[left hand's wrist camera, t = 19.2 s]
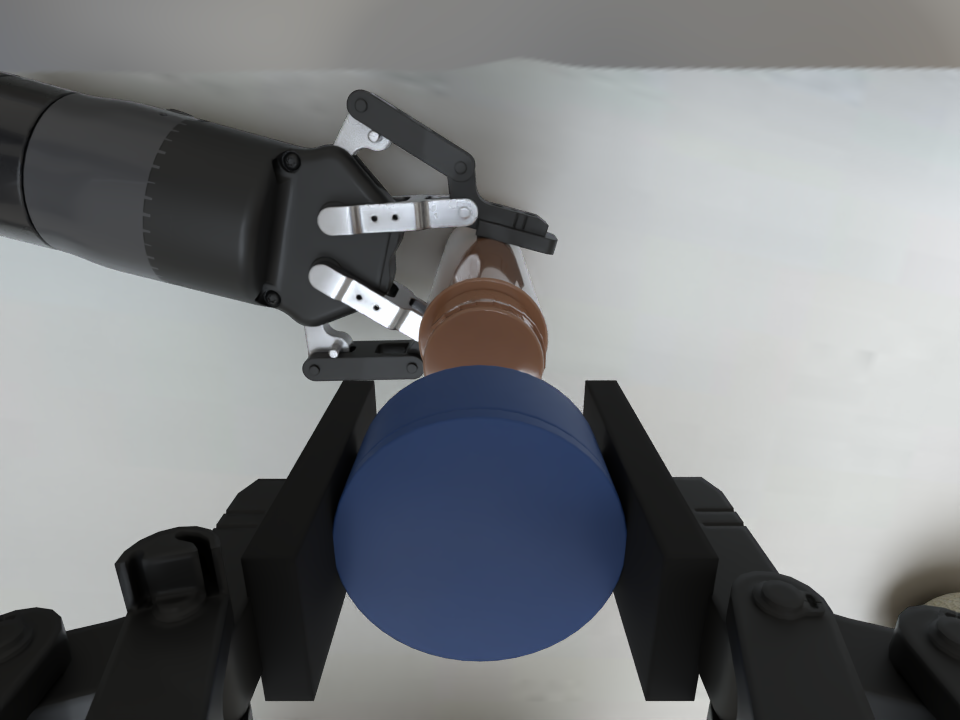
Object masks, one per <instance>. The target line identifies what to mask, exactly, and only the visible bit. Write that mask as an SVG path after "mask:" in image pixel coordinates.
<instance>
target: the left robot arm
mask: <svg viewBox="0 0 960 720" xmlns="http://www.w3.org/2000/svg"><path fill="white" fill-rule="evenodd" d="M376 415H377V414H376V400H375V385H374V380H343V382H342V384H341V386H340V387H339V389H338V391H337V393H336V394H335V396H334V398H333V399H332V401H331V403H330V405H329V406H328V408H327V410H326V412H325V413H324V415H323V417H322V418H321V420H320V422H319V424H318V425H317V427H316V429H315V431H314V432H313V434H312V436H311V437H310V439H309V441H308V443H307V444H306V446H305V448H304V450H303V451H302V453H301V455H300V457H299V458H298V460H297V462H296V463H295V465H294V467H293V469H292V470H291V472H290V474H289V476H288V477H287V479H258V480H256V481H255V482H253V483H252V484H251V485H249V486H248V487H246V488H245V489H244V490H242V491H241V492H239V493H238V494H237V496H236V497H235V499H234V500H233V501H232V503H231V504H230V506H229V507H228V509H227V510H226V514H223V516H222V517H221V519H220V520H219V522H218V523H217V526H216V528H214V529H213V530H210V529H206V528H202V527H198V526H188V527H176V528H172V529H168V530H164V531H160V532H157V533H155V534H153V535H150V536H148V537H146V538H144V539H142V540H140V541H138V542H137V543H135V544H134V545H133V546H131V547H130V548H128V549H127V550H126V551H124V552H123V554H122V555H121V556H120V558H119V559H118V560H117V562H116V563H115V568H116V572H117V575H118V579H119V583H120V586H121V590H122V594H123V598H124V601H125V605H126V609H127V615H126V617H122V618H119V619H116V620H112V621H108V622H104V623H100V624H95V625H91V626H87V627H82V628H78V629H74V630H69V631H65V628H64V625H63V621H62V618H61V617H60V616H59V615H58V614H57V613H56V612H54V611H53V610H51V609H45V608H38V607H35V608H28V609H21V610H15V611H12V612H9V613H6V614H3V615H0V720H253V716H252V710H251V704H250V701H251V698H252V696H253V693H254V691H255V689H256V686H257V684H258V681H259V679H260V676H261V678H262V684H263V690H264V695H265V701H314V699H315V695H316V692H317V689H318V685H319V682H320V679H321V675H322V672H323V668H324V665H325V662H326V658H327V655H328V652H329V648H330V645H331V642H332V638H333V635H334V632H335V628H336V625H337V622H338V618H339V615H340V611H341V608H342V605H343V601H344V598H345V595H346V589H345V588H344V586H343V584H342V582H341V579H340V577H339V574H338V571H337V568H336V561H335V553H334V543H333V522H334V516H335V512H336V509H337V506H338V502H339V500H340V497H341V494H342V492H343V489H344V487H345V484H346V482H347V479H348V477H349V474H350V472H351V469H352V467H353V464H354V462H355V459H356V457H357V454H358V452H359V449H360V447H361V444H362V441H363V439H364V437H365V434H366V432H367V430H368V428H369V426H370V424H371V423H372V421H373V419H374V418H375V416H376ZM583 416H584V417H585V419H586V420H587V422H588V423H589V425H590V427H591V429H592V431H593V433H594V436H595V438H596V440H597V443H598V445H599V448H600V451H601V453H602V456H603V458H604V461H605V463H606V466H607V468H608V471H609V473H610V476H611V478H612V481H613V484H614V486H615V489H616V491H617V494H618V496H619V499H620V502H621V505H622V508H623V511H624V515H625V520H626V527H627V538H626V549H625V558H624V566H623V569H622V572H621V575H620V578H619V580H618V582H617V584H616V586H615V588H614V590H613V592H614V596H615V599H616V603H617V606H618V609H619V613H620V616H621V619H622V623H623V626H624V629H625V633H626V636H627V639H628V643H629V646H630V650H631V653H632V656H633V660H634V663H635V666H636V670H637V673H638V676H639V680H640V683H641V686H642V690H643V693H644V696H645V700H646V701H694V699H695V693H696V688H697V682H698V676H699V674H700V677H701V679H702V682H703V684H704V687H705V689H706V691H707V694H708V696H709V699H710V704H709V710H708V715H707V720H960V613H959V612H956V611H953V610H950V609H947V608H943V607H936V606H929V605H919V606H912V607H908V608H906V609H905V610H904V611H903V612H902V613H900V614H899V617H898V620H897V623H896V626H895V629H893V628H888V627H884V626H880V625H875V624H871V623H867V622H862V621H858V620H854V619H849V618H846V617H842V616H839V615H836V614H833V612H832V610H831V609H830V607H829V606H828V604H827V603H826V601H825V600H824V598H823V597H821V596H820V595H819V594H818V593H817V592H815V591H814V590H813V589H812V588H811V587H809V586H808V585H806V584H804V583H802V582H800V581H798V580H796V579H794V578H792V577H789V576H786V575H782V574H779V573H778V571H777V570H776V568H775V567H774V566H773V564H772V563H771V561H770V560H769V558H768V557H767V556H766V554H765V553H764V551H763V550H762V548H761V547H760V545H759V544H758V543H757V541H756V540H755V538H754V537H753V535H752V534H751V533H750V531H749V530H748V528H747V527H746V526H744V525H743V521H742V520H741V518H740V517H739V515H738V514H737V513H736V512H734V508H733V507H732V505H731V504H730V502H729V501H728V500H727V498H726V497H725V495H724V494H723V492H722V491H720V490H719V489H718V488H716V487H715V486H713V485H712V484H710V483H709V482H708V481H706V480H705V479H703V478H702V477H672V476H671V474H670V473H669V471H668V469H667V468H666V466H665V464H664V462H663V461H662V459H661V457H660V455H659V454H658V452H657V450H656V448H655V447H654V445H653V443H652V442H651V440H650V438H649V436H648V435H647V433H646V431H645V429H644V428H643V426H642V424H641V423H640V421H639V419H638V417H637V416H636V414H635V412H634V410H633V409H632V407H631V405H630V404H629V402H628V400H627V398H626V397H625V395H624V393H623V391H622V390H621V388H620V386H619V384H618V383H617V381H616V380H585V395H584V409H583Z"/></svg>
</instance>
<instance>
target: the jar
mask: <svg viewBox="0 0 960 720" xmlns="http://www.w3.org/2000/svg"><path fill="white" fill-rule="evenodd" d="M418 344H419V351H420V355H421V358H422V361H423V372H424V377H425V376H427V375H429V374H432V373H436V372H439V371H442V370H445V369H450V368H455V367H460V366H472V365H487V366H499V367H504V368H510V369H514V370H518V371H521V372H524V373H527V374H530V375H532V376H534V377H536V378H539V379H541V378H542V375H543V371H544V368H545V361H546V352H547V346H548V331H547V325H546V322H545V319H544V316H543V313H542V310H541V307H540V304H539V301H538V298H537V295H536V292H535V289H534V286H533V283H532V280H531V277H530V274H529V271H528V269H527V266H526V263H525V260H524V257H523V254H522V251H521V248H520V247H518V246H515V245H511V244H507V243H503V242H500V241H497V240H493V239H488V238H485V237H481V236H477V235H476V229H472V228H468V227H456V228H455V229H454V230H453V232H452V233H451V234H450V236H449V238H448V240H447V243H446V246H445V249H444V252H443V255H442V258H441V261H440V264H439V267H438V270H437V274H436V277H435V280H434V283H433V286H432V289H431V292H430V295H429V298H428V301H427V304H426V307H425V310H424V313H423V317H422V320H421V323H420V327H419V332H418Z"/></svg>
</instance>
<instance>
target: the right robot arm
mask: <svg viewBox="0 0 960 720" xmlns="http://www.w3.org/2000/svg"><path fill="white" fill-rule="evenodd" d="M347 109H348V112H349V113H348V115H347V117H346V119H345V121H344V123H343V125H342V127H341V130H340V132H339V134H338V136H337V138H336V140H335V142H334V144H332V145H323V146H320V147H317V148H305V147H300V146H296V145H293V144H289V143H285V142H282V141H278V140H274V139H271V138H267V137H263V136H260V135H256V134H252V133H249V132H245V131H242V130H238V129H234V128H231V127H227V126H223V125H220V124H216V123H212V122H209V121H205V120H201V119H197V118H194V117H193V116H191V115H189V114H187V113H184V112H181V111H178V110H174V109H170V110H169V109H166V110H165V109H161V108H157V107H153V106H150V105H146V104H141V103H137V102H133V101H126V100H119V99H111V98H103V97H97V96H92V95H87V94H83V93H80V92H76V91H72V90H69V89H65V88H61V87H57V86H54V85H50V84H46V83H43V82H39V81H35V80H32V79H28V78H24V77H20V76H17V75H13V74H9V73H5V72H2V71H0V236H3V237H7V238H11V239H15V240H19V241H23V242H27V243H31V244H35V245H39V246H43V247H47V248H51V249H55V250H60V251H63V252H67V253H70V254H73V255H76V256H79V257H81V258H84V259H86V260H88V261H91V262H94V263H96V264H99V265H102V266H105V267H108V268H111V269H114V270H118V271H121V272H126V273H130V274H134V275H138V276H142V277H146V278H150V279H154V280H158V281H162V282H166V283H170V284H174V285H178V286H182V287H186V288H190V289H194V290H198V291H202V292H206V293H210V294H214V295H218V296H223V297H227V298H231V299H235V300H239V301H243V302H247V303H251V304H255V305H260V306H266V307H272V308H276V309H279V310H281V311H283V312H284V313H286V314H287V315H289V316H290V317H291V318H292V319H294V320H295V321H296V322H298V323H299V324H301V325H304V326H305V333H306V340H307V347H308V355H309V357H308V359H307V360H306V361H305V362H304V364H303V367H302V370H303V373H304V375H305V376H306V377H307V378H308V379H310V380H312V381H343V380H394V379H416V378H419V377H420V376H421V375H422V374H423V373H424V372H423V361H422V358H421V355H420V351H419V344H418V332H419V327H420V323H421V320H422V317H423V313H424V310H425V307H426V304H427V303H426V302H425V301H423V300H421V299H420V298H418V297H416V296H415V295H414V294H413V292H412V291H411V290H409V289H408V288H407V287H405V286H403V285H402V284H400V283H398V282H397V281H395V280H394V277H395V272H396V258H395V253H396V250H397V248H398V246H399V244H400V243H401V241H402V239H403V235H404V231H417V230H424V229H428V228H445V227H468V228H472V229H476V235H477V236H481V237H485V238H488V239H493V240H497V241H500V242H503V243H507V244H511V245H515V246H518V247H522V248H526V249H530V250H534V251H537V252H541V253H545V254H550V255H553V253H554V250H555V247H556V244H557V240H558V239H557V238H556V237H555V235H553V234H551V233H548V232H547V229H548V224H547V223H546V222H545V221H544V220H543V219H542V218H540V217H539V216H538V215H536V214H533V213H529V212H525V211H522V210H518V209H514V208H511V207H507V206H503V205H500V204H496V203H492V202H489V201H486V200H484V199H483V198H482V197H481V196H480V195H479V193H478V191H477V187H476V177H475V161H474V158H473V157H472V156H471V155H470V154H469V153H468V152H466V151H464V150H463V149H461V148H460V147H458V146H457V145H455V144H453V143H452V142H450V141H449V140H447V139H445V138H444V137H442V136H441V135H439V134H438V133H436V132H434V131H433V130H431V129H430V128H428V127H427V126H425V125H423V124H422V123H420V122H419V121H417V120H415V119H414V118H412V117H411V116H409V115H408V114H406V113H404V112H403V111H401V110H400V109H398V108H397V107H395V106H393V105H392V104H390V103H389V102H387V101H385V100H384V99H382V98H381V97H379V96H378V95H376V94H373V93H371V92H368V91H365V90H356V91H354V92H352V93H351V94H350V95H349V97H348V100H347ZM392 142H393V143H394V144H396V145H397V146H399V147H401V148H402V149H404V150H405V151H407V152H409V153H410V154H412V155H413V156H415V157H417V158H418V159H420V160H422V161H423V162H425V163H426V164H428V165H430V166H431V167H433V168H434V169H436V170H438V171H439V172H441V173H443V174H444V175H446V176H447V177H448V186H449V194H443V195H405V196H391V195H390V194H389V193H388V192H387V191H386V190H385V188H384V187H383V186H382V185H381V184H380V182H379V181H378V180H377V179H376V178H375V176H374V175H373V174H372V173H371V172H370V171H369V169H368V168H367V167H366V166H365V165H364V163H363V162H362V161H361V160H360V159H359V158H358V156H357V155H356V154H357V153H358V152H359V151H360V150H361V149H363V148H369V149H371V150H374V151H381V150H385V149H387V148H389V147H390V145H391V144H392ZM388 291H389V292H388ZM376 305H378V306H379V307H376ZM358 311H359V312H360V313H362V314H364V315H365V316H367V317H369V318H370V319H372V320H374V321H376V322H377V323H379V324H381V325H382V326H384V327H386V328H388V329H391V330H398V331H400V332H402V333H403V334H405V335H407V336H409V337H410V338H412V340H384V341H353V340H352V338H351V337H350V335H349V334H347V333H345V332H342V331H336V330H334V329H333V328H332V327H331V326H330V325H329V322H332V321H334V320H337V319H339V318H342V317H345V316H347V315H350V314H352V313H355V312H358Z"/></svg>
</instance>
